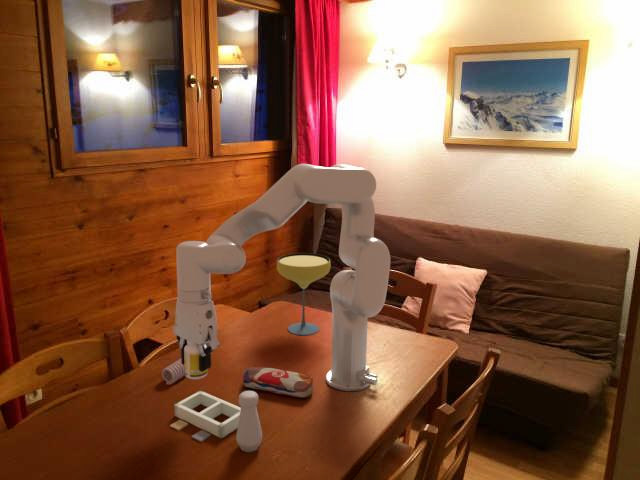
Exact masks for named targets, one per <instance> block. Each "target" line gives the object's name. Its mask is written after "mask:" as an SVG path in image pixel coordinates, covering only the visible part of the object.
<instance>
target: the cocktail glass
mask: <svg viewBox="0 0 640 480" xmlns="http://www.w3.org/2000/svg"><path fill="white" fill-rule="evenodd" d="M331 268H332V266H331V259H330V258H329V257H328V256H326V255H323V254H319V253H309V252H300V253H299V252H297V253H296V252H295V253H290V254H285V255H281V256H279V257H278V258H277V261H276V269H277V272H278V273H279V274H280V276H282V277H283V278H285V279H287V280H289V281H292V282H295V283H296V284H297V285H298V286H299V288H301V289H302V317H301V318H302V319H301V322H297V323H293V324H290V325H289V326H288V327H287V330H288V332H289V333H291V334H293V335H296V336H310V335H311V336H312V335H315V334H317V333H318V332H319V330H320V327H319V326H318V325H317V324H315V323H312V322H306V315H305V307H306V306H305V305H306V304H305V295H306V294H305V289H307V288H308V287H309V285H310V284H311V283H314V282H315V281H318V280H320V279H323V278H324V277H325V276H327V275H328V274H329V272H330V271H331Z"/></svg>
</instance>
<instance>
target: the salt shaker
mask: <svg viewBox="0 0 640 480" xmlns="http://www.w3.org/2000/svg"><path fill="white" fill-rule="evenodd" d="M258 403H259V395H258V393H257V392H256V391H254V390H244V391H242V392H241V393H240V394H239V395H238V405H239V407H240V408H241V411H240V417H239V423H238V428H237V429H236V436H235V441H236V443H237V444H238V446H239V448H240V450H241V451H242V452H247V453H253V452H255V451H257V450H258V447H259V446H260V444H261V442H262V441H263V430H262V427H261V421H260V418H259V412H258V408H257V405H258Z"/></svg>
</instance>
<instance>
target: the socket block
mask: <svg viewBox="0 0 640 480" xmlns="http://www.w3.org/2000/svg"><path fill="white" fill-rule="evenodd" d="M200 405H202V406H205V407H206V408H204V409H203V410H201V411H200V412H198V411H196V410H194V408H196V407H198V406H200ZM173 407H174V416H175V417H176V418H179V420H182V421H184V422H186V423H188V424H189V423H190V424H191V425H193V426H195V427H197V428H199V429H201V430H203V431H205V432H207V433H209V434H211V435H214V436H216V437H218V438H220V439H223V438H225V437H226V436H228V435H229V434H230V433H231V434H232V432H234V431H235V430H237V429H238V423H239V417H240V411H241V406H237V405H236V404H233V403H230V402H228V401H226V400H224V399H221V398H219V397H216V396H214V395H212V394H210V393H208V392H205V391H202V390H199V391H197V392H196V393H193V394H192V395H190V396H188V397H186V398H184V399H182V400H180V401H178V402H177V403H175V404H174V406H173ZM220 415H225V416H227V417H229V418H227V419H225V420H224V421H223V422H219V421H218V420H215V418H217V417H218V416H220Z"/></svg>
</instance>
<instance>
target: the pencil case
mask: <svg viewBox="0 0 640 480" xmlns="http://www.w3.org/2000/svg"><path fill="white" fill-rule="evenodd" d="M242 377H243V380H242V381H243V382H242V384H243V386H244V387H246V388H249V389H253V390H260V391H265V392H270V393H274V394H278V395H279V394H280V395H286V396H289V397H290V396H291V397H293V398H294V397H295V398H303V399H304V398H308V397H310V396H311V394H313V392H314V378H313V377H312V376H311V375H309V374H307V373H301V372H294V371H289V370H285V369H278V368H272V367H262V366H261V367H260V366H259V367H257V366H253V367H249V368H247V369H245V370H244V372H243V375H242Z"/></svg>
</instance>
